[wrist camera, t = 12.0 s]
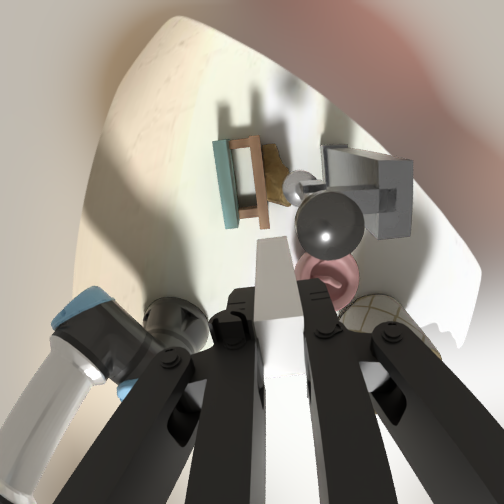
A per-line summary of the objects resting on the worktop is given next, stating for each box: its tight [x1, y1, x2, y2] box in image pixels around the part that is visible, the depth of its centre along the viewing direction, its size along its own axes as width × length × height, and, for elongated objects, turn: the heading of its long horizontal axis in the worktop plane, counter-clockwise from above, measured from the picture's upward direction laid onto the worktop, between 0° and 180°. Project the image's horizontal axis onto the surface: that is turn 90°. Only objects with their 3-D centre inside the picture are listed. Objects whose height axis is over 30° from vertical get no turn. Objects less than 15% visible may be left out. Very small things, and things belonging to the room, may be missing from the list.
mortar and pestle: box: [294, 252, 359, 311], centre depth 48 cm, size 12×12×12 cm
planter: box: [339, 295, 442, 414], centre depth 50 cm, size 19×19×20 cm
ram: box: [282, 170, 365, 261], centre depth 26 cm, size 5×5×16 cm
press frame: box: [299, 144, 413, 240], centre depth 35 cm, size 12×9×24 cm
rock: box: [262, 144, 291, 207], centre depth 43 cm, size 11×9×10 cm
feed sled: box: [212, 135, 270, 229], centre depth 43 cm, size 7×14×8 cm, turn 7°
